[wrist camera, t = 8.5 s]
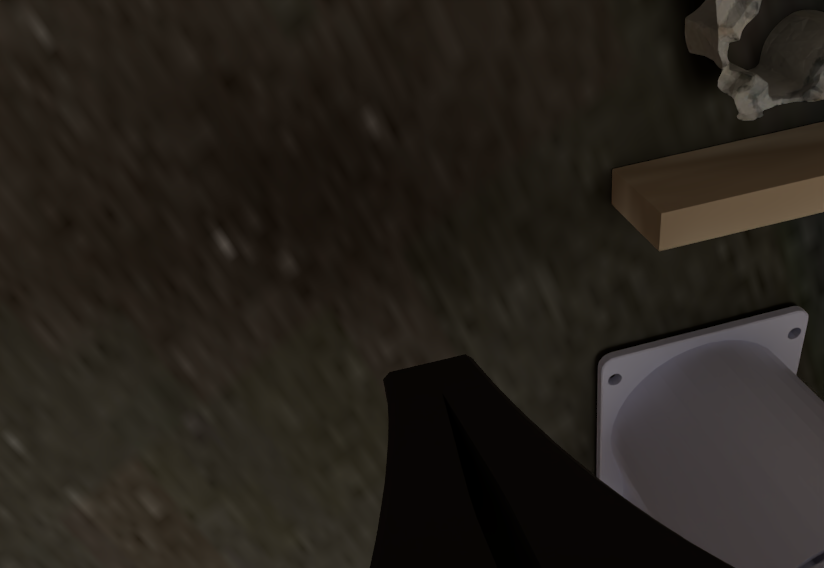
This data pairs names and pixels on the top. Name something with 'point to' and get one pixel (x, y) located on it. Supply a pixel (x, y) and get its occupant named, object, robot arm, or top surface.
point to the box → (724, 187)
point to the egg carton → (780, 58)
